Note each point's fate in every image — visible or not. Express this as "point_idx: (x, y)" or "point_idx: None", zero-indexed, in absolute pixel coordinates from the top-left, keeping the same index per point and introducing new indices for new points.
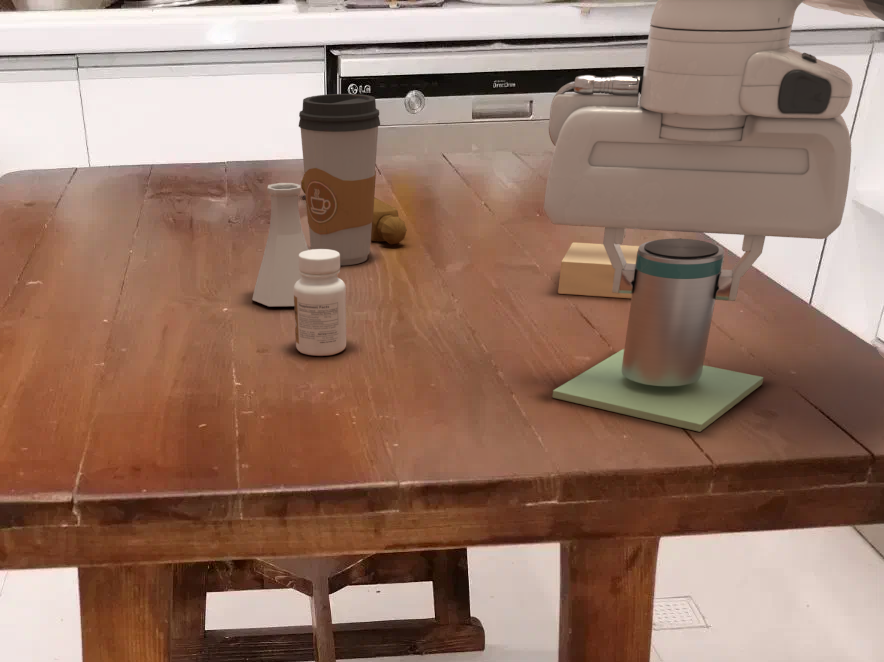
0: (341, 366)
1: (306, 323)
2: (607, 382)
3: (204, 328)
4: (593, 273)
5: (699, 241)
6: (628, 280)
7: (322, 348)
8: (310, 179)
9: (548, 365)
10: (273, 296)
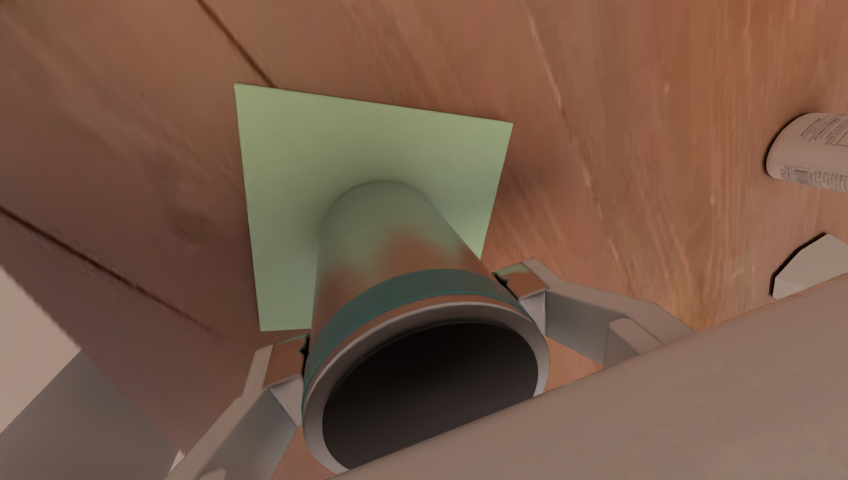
0: (773, 98)
1: None
2: (449, 197)
3: None
4: None
5: None
6: (516, 280)
7: (806, 119)
8: None
9: (536, 239)
10: (837, 242)
